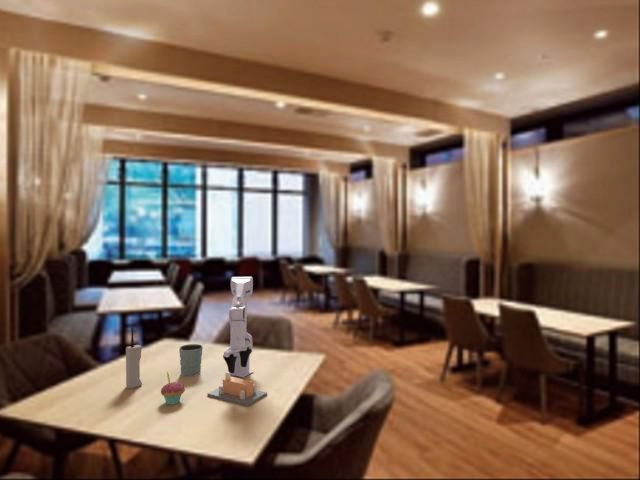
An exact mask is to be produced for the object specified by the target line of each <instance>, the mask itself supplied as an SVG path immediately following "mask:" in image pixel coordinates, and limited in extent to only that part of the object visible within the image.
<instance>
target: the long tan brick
mask: <svg viewBox="0 0 640 480" xmlns="http://www.w3.org/2000/svg"><path fill="white" fill-rule="evenodd" d="M224 373H225V375H224V377H225V378H223V379H222V385H223V386H224V392H225V393H229V394H233V395H237V396H240V391H241V390H244V391H245V398H248V397H249V396H251V395H253V384H254V381H253V380H247V379H243V378H240V377H236V376H232V375H231V373H229V372H228V371H225V372H224Z"/></svg>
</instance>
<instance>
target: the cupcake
mask: <svg viewBox="0 0 640 480" xmlns="http://www.w3.org/2000/svg"><path fill="white" fill-rule="evenodd" d="M166 377H167V383H166V384H165V385H163V386H162V387H161V388H160V394H161V395H162V396H163V397H164V400H165V403H166V404H167V405H176V404H178V403H179V402H180V399H181V397H182V395H183V394H184V393H185V391H186V390H185V389H186V388H185V385H184V384H183V383H181V382H179V381H171V380H170V379H171V378H170V373H169V371H166Z"/></svg>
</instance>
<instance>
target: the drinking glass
mask: <svg viewBox="0 0 640 480" xmlns="http://www.w3.org/2000/svg"><path fill="white" fill-rule="evenodd" d="M203 347H204V346H203V345H201V344H197V343H195V344H194V343H193V344H191V343H190V344H184V345H181V346H179V349H178V350H179V358H180V359H179V360H180V361H179V364H180V375H181V376H182V375H183V377H194V376H198V375H199V374H200V373H201V369H202V356H203Z"/></svg>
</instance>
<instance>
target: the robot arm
mask: <svg viewBox="0 0 640 480" xmlns="http://www.w3.org/2000/svg"><path fill="white" fill-rule="evenodd" d="M253 279H254V278H253V276H232V277H231V278H230V291H231V293H232V294H231V295H232V296H233V297H232V300H231V301H232V302H231V306H230V308H229V311H228V319H229V326H230V342H229V348H227V350H225V351H223V357H222V359H223V360H224V361H225V364H226V365H227V372H229V373H231V376H233V377H237V378H245V377H247V376H248V375H251V374H253V373H254V370H250V355H251V354H252V353H253V336H252V335H251V334H250V333H248V331H247V317H248V316H247V312H248V311H247V309H248V306H247V305H248V299H249V297H250V296H252V294H253V288H254V287H253V286H254V280H253Z"/></svg>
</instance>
